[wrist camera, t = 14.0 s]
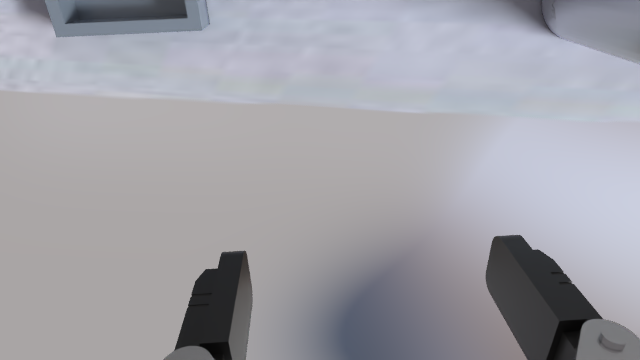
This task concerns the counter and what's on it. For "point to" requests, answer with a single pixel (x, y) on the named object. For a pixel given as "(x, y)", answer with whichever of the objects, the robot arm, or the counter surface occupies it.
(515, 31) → the counter surface
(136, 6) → the dish
